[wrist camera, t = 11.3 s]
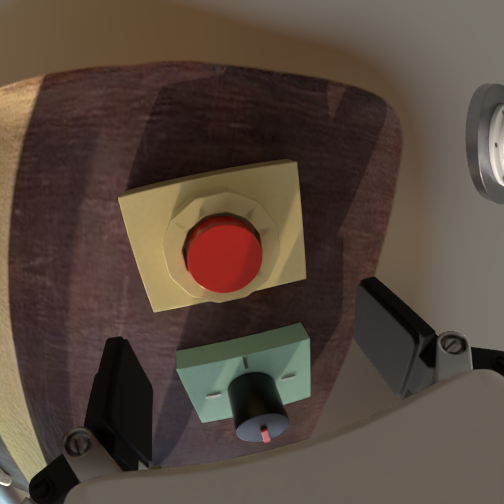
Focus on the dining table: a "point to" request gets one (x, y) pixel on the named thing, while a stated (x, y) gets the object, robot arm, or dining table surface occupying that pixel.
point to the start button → (223, 254)
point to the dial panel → (245, 368)
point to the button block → (208, 206)
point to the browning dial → (257, 407)
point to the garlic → (4, 478)
